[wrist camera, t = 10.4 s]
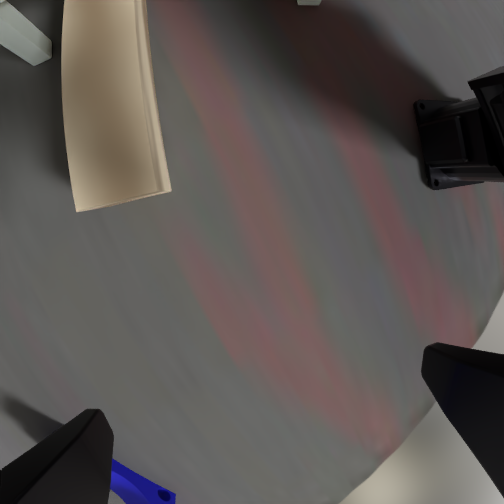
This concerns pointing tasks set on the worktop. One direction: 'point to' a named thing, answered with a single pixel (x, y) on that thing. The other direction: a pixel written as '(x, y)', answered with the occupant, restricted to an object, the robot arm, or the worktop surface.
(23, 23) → the small white table
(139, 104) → the batten
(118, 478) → the cable clip
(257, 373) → the worktop surface
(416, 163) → the worktop surface
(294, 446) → the worktop surface
